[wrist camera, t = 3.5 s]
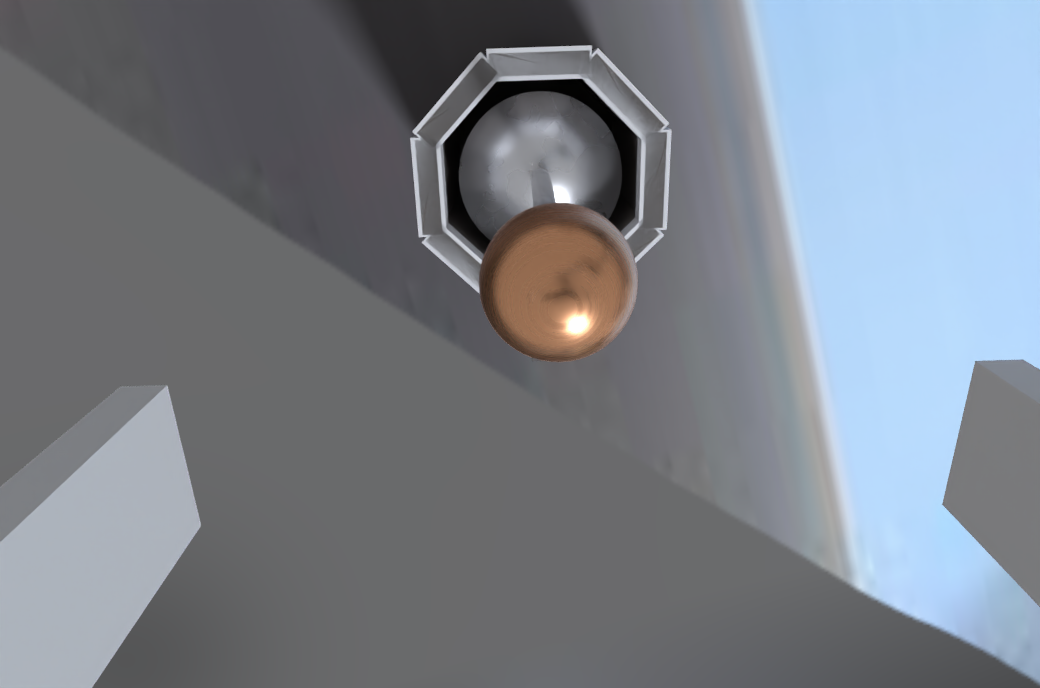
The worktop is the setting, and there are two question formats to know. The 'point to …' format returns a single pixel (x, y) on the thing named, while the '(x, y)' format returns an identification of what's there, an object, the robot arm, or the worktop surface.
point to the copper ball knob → (549, 225)
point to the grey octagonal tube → (527, 71)
